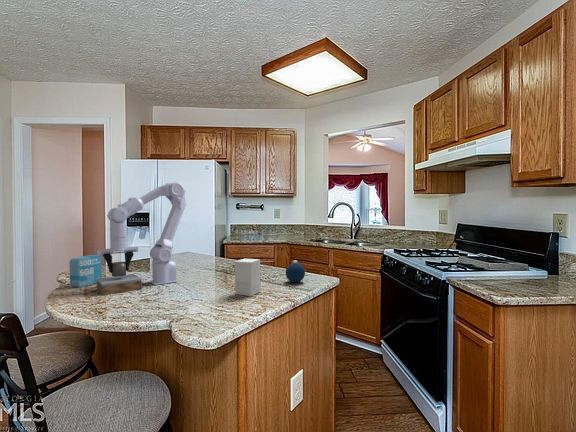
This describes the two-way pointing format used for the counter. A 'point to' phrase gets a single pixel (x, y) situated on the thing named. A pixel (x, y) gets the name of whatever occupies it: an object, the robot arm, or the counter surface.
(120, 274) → the dark grey rounded plug
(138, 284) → the box
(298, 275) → the christmas ornament
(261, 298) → the counter surface
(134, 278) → the lid
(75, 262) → the data package
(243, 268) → the supplement box
